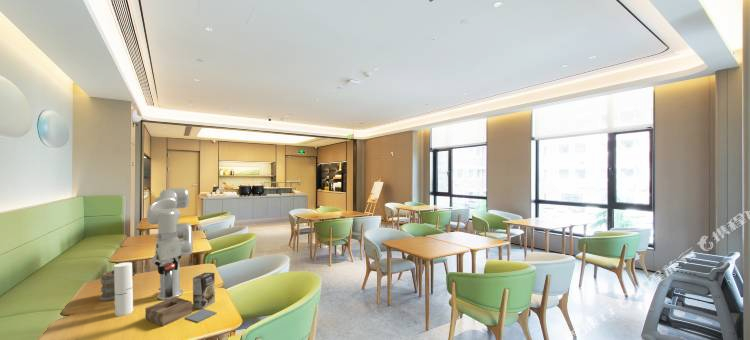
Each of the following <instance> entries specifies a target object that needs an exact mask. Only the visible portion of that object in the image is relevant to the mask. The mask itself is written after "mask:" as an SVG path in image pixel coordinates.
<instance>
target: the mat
mask: <svg viewBox="0 0 750 340" xmlns="http://www.w3.org/2000/svg"><path fill="white" fill-rule="evenodd" d="M216 314H218V313H217V312H215V311H212V310H210V309H206V308H204V309H200V310H197V311H196V312H192V313H191V314H189V315H187V316H185V317H184V319H185V320H188V321H192V322H194V323H200V322H203V321H204V320H206V319H208V318H211V317H212V316H215V315H216Z"/></svg>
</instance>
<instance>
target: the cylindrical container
mask: <svg viewBox="0 0 750 340" xmlns="http://www.w3.org/2000/svg"><path fill="white" fill-rule="evenodd" d="M113 270H114V285H115V299H114V313H115V316H116V317H123V316H126V314H127V315H130V314H131V313H133V312H134V293H133V289H134V288H133V276H132V272H133V263H132V262H130V261H128V262H121V263H116V264H114V265H113ZM132 311H133V312H132Z"/></svg>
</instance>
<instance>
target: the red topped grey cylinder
mask: <svg viewBox="0 0 750 340" xmlns="http://www.w3.org/2000/svg"><path fill="white" fill-rule="evenodd" d="M162 266H164V297H165V298H169V297H172V296H173V269H174V268H175V263H165V264H163V265H162Z"/></svg>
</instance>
